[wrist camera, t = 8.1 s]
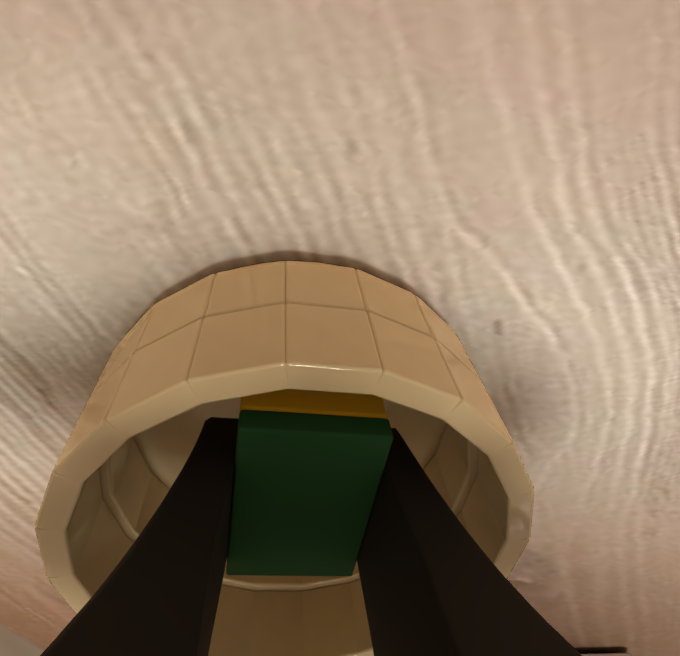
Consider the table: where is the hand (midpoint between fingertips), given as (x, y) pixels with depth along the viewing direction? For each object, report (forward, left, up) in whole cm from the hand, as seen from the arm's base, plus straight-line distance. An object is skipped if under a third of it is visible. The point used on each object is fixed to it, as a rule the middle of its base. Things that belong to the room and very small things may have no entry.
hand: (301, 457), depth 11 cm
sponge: (0, 0, -1) cm, 1 cm away
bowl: (-1, 0, -2) cm, 2 cm away
